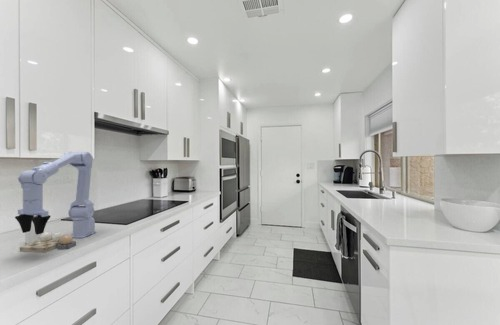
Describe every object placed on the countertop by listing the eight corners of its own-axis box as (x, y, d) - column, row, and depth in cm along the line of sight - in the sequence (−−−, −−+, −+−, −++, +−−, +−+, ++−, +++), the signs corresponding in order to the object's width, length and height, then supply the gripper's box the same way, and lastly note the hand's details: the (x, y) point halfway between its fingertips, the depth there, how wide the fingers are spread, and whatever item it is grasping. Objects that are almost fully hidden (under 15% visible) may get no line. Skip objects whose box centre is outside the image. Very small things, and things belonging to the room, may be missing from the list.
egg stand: (66, 244, 102) (66, 241, 102) (77, 244, 102) (77, 241, 102) (55, 249, 97) (55, 245, 97) (67, 249, 96) (67, 245, 96)
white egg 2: (58, 239, 105) (58, 230, 105) (67, 240, 105) (67, 230, 105) (49, 243, 100) (49, 233, 100) (58, 243, 100) (58, 233, 100)
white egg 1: (46, 239, 105) (46, 230, 105) (55, 239, 105) (55, 230, 105) (37, 242, 100) (37, 233, 100) (46, 243, 100) (46, 233, 100)
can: (47, 239, 108) (47, 215, 108) (35, 244, 102) (35, 218, 102) (34, 239, 108) (34, 215, 108) (20, 244, 102) (21, 218, 102)
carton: (46, 241, 106) (46, 237, 106) (70, 241, 105) (70, 238, 105) (19, 251, 94) (19, 247, 94) (46, 252, 93) (46, 247, 93)
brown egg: (66, 242, 102) (66, 233, 102) (75, 242, 101) (75, 233, 101) (57, 246, 97) (57, 236, 97) (67, 246, 97) (67, 236, 97)
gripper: (7, 200, 87) (7, 234, 87) (33, 202, 83) (33, 237, 83) (29, 197, 93) (29, 228, 94) (54, 199, 90) (54, 232, 90)
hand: (32, 232), depth 89 cm, fingers open, 7 cm apart
